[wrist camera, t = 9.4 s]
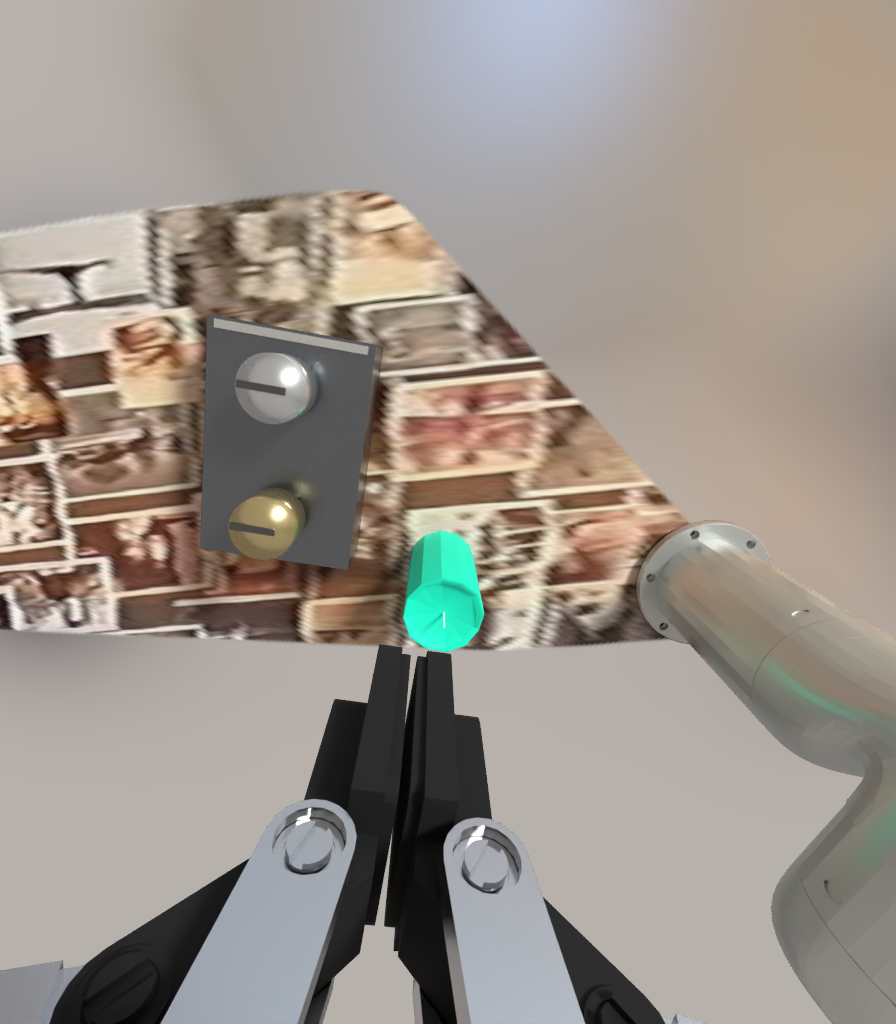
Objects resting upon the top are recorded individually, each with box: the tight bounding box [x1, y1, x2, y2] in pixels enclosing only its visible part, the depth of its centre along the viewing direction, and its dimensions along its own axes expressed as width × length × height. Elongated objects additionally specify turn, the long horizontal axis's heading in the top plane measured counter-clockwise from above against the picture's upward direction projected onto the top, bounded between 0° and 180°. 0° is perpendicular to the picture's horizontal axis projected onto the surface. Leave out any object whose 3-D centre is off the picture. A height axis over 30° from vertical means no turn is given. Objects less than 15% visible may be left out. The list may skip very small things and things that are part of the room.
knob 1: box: [235, 353, 318, 424], centre depth 36 cm, size 5×5×8 cm
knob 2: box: [228, 487, 306, 560], centre depth 39 cm, size 5×5×8 cm
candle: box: [403, 531, 484, 652], centre depth 40 cm, size 6×6×12 cm
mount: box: [200, 314, 383, 570], centre depth 40 cm, size 12×18×5 cm, turn 170°
